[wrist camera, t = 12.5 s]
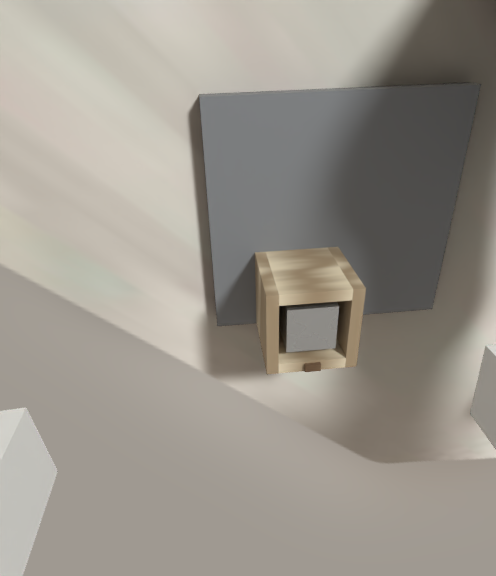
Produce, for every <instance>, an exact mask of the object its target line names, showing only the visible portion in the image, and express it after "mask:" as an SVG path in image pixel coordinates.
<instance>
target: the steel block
mask: <svg viewBox="0 0 496 576" xmlns="http://www.w3.org/2000/svg"><path fill="white" fill-rule="evenodd" d="M338 314H339V305H338V303H337V302H324V303H311V304H298V305H286V306H279V328H280V332H281V335H282V339H283V342H284V346H285V349H286V353H287V352H298V351H310V350H322V349H333V348H336V336H337V325H338Z"/></svg>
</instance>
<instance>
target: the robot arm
mask: <svg viewBox="0 0 496 576" xmlns="http://www.w3.org/2000/svg"><path fill="white" fill-rule="evenodd" d="M470 414H471V416H472V417H473V418H474V420H475V421H476V423H477V424H478V425H479V427H480V428H481V430H482V431H483V432H484V434H485V435H486V437H487V438H488V439H489V441H490V442H491V444H492V445H493V446H494V448H495V449H496V344H491V345H486V346H485V350H484V355H483V359H482V363H481V368H480V372H479V377H478V381H477V385H476V390H475V394H474V398H473V403H472V407H471V411H470ZM56 474H57V469H56V467H55V465H54V463H53V461H52V459H51V457H50V455H49V453H48V451H47V449H46V447H45V445H44V443H43V441H42V439H41V437H40V435H39V433H38V431H37V429H36V426H35V424H34V423H33V421H32V418H31V416H30V414H29V412H28V410H27V409H26V408H19V409H12V410H5V411H0V576H23V573H24V570H25V567H26V564H27V561H28V558H29V555H30V552H31V549H32V546H33V543H34V540H35V537H36V534H37V531H38V528H39V525H40V522H41V519H42V516H43V513H44V510H45V507H46V504H47V501H48V498H49V495H50V492H51V489H52V487H53V483H54V481H55V478H56Z"/></svg>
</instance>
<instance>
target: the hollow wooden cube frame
mask: <svg viewBox="0 0 496 576" xmlns="http://www.w3.org/2000/svg"><path fill="white" fill-rule="evenodd" d="M255 282H256V323H257V328H258V333H259V338H260V343H261V347H262V352H263V357H264V362H265V367H266V372H267V374H276V373H287V372H298V371H305V372H312V371H321V369H332V368H343V367H355V366H356V365H357V357H358V349H359V341H360V333H361V325H362V317H363V309H364V301H365V293H366V288H365V286H364V285H363V283H362V282H361V280H360V279H359V277H358V276H357V274H356V273H355V271H354V270H353V268H352V267H351V265H350V264H349V262H348V261H347V259H346V258H345V256H344V255H343V253H342V252H341V250H340V249H339V247H327V248H312V249H298V250H283V251H269V252H255ZM324 302H337V303H338V305H339V314H338V325H337V336H336V348H333V349H322V350H310V351H298V352H287V353H286V349H285V346H284V342H283V339H282V335H281V332H280V328H279V306H286V305H298V304H311V303H324Z"/></svg>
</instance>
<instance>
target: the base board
mask: <svg viewBox="0 0 496 576" xmlns="http://www.w3.org/2000/svg"><path fill="white" fill-rule="evenodd" d="M480 87H481V84H475V83H451V84H427V85H404V86H381V87H358V88H335V89H312V90H289V91H266V92H242V93H219V94H199V100H200V112H201V125H202V137H203V150H204V163H205V175H206V188H207V200H208V213H209V226H210V238H211V251H212V263H213V276H214V289H215V301H216V314H217V326H227V325H240V324H252V323H256V282H255V252H269V251H283V250H298V249H312V248H327V247H339V249H340V250H341V252H342V253H343V255H344V256H345V258H346V259H347V261H348V262H349V264H350V265H351V267H352V268H353V270H354V271H355V273H356V274H357V276H358V277H359V279H360V280H361V282H362V283H363V285H364V286H365V288H366V293H365V301H364V309H363V315H364V314H376V313H389V312H401V311H414V310H426V309H432V307H433V303H434V298H435V293H436V289H437V284H438V280H439V275H440V270H441V266H442V261H443V257H444V252H445V248H446V243H447V238H448V234H449V229H450V225H451V220H452V215H453V211H454V206H455V202H456V197H457V192H458V188H459V183H460V179H461V174H462V169H463V165H464V160H465V156H466V151H467V146H468V142H469V137H470V133H471V128H472V123H473V119H474V114H475V110H476V105H477V100H478V96H479V91H480Z"/></svg>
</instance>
